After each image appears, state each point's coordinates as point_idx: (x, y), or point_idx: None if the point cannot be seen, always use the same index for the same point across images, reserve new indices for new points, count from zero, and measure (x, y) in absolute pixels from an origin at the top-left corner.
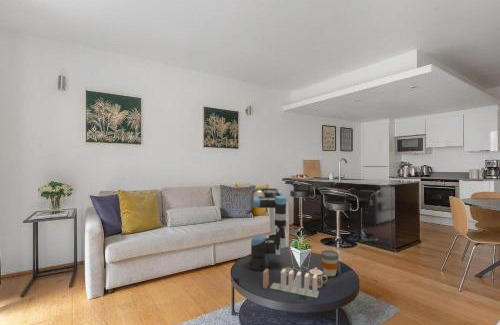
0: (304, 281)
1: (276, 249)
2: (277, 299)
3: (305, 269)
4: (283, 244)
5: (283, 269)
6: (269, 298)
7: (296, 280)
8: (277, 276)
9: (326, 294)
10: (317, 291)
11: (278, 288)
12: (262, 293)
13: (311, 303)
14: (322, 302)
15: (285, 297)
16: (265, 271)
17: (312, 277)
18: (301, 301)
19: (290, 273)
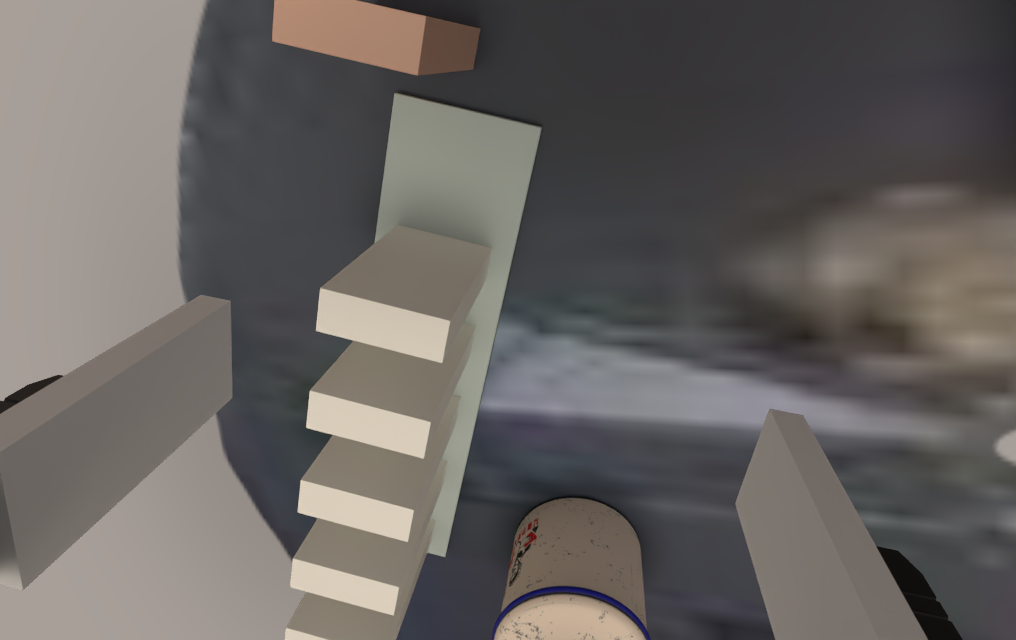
0: (318, 518)
1: (48, 384)
2: (213, 197)
3: (984, 502)
4: (763, 558)
5: (425, 324)
6: (201, 113)
7: (330, 441)
8: (755, 163)
9: (429, 594)
10: (443, 545)
11: (408, 198)
12: (272, 16)
13: (255, 474)
14: (298, 548)
15: (275, 272)
16: (309, 25)
17: (513, 587)
18: (257, 405)
19: (317, 414)
